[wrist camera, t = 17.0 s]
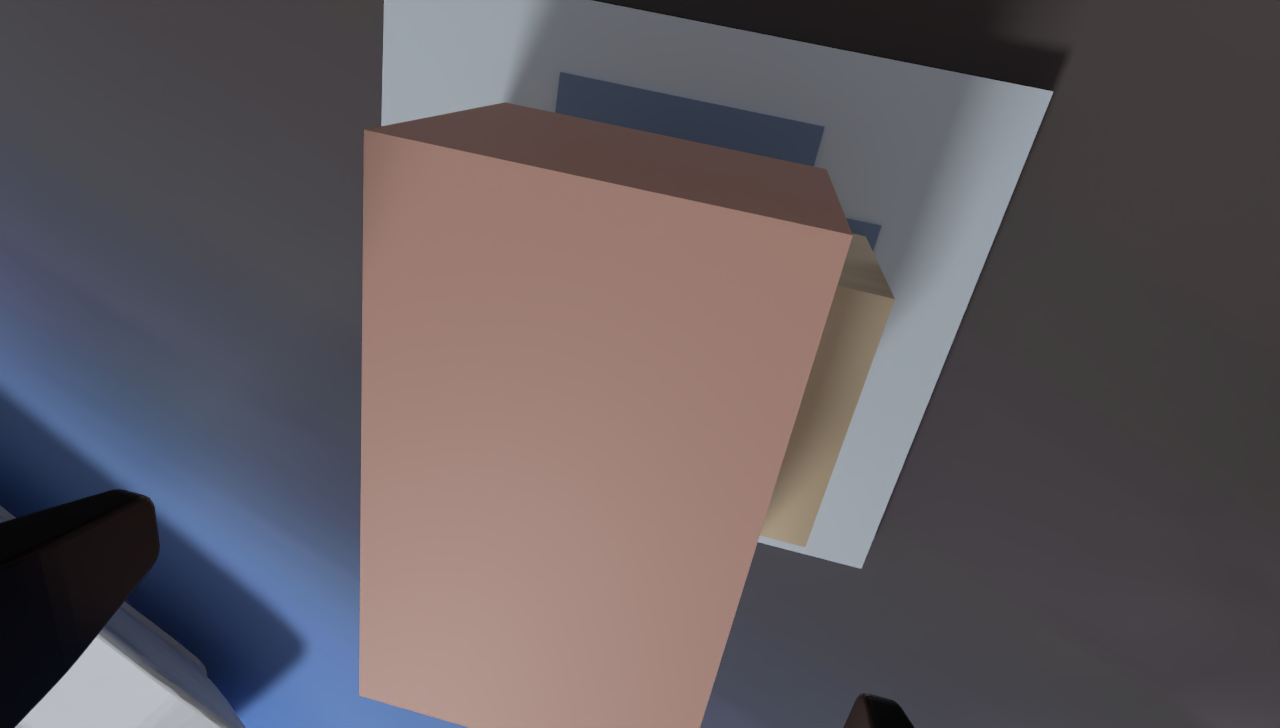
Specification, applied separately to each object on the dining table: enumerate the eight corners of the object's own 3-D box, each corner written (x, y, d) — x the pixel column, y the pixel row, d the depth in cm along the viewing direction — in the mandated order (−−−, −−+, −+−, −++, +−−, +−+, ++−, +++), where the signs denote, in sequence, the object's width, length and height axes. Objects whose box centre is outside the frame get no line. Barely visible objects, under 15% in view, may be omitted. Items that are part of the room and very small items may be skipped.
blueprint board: (1041, 89, 17) (1055, 92, 16) (858, 552, 23) (861, 570, 22) (400, -37, 18) (382, -42, 17) (386, 430, 24) (372, 444, 23)
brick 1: (504, 101, 13) (363, 129, 9) (826, 169, 13) (852, 235, 8) (467, 529, 17) (359, 695, 13) (706, 592, 17) (680, 788, 12)
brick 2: (865, 236, 18) (895, 299, 13) (799, 437, 20) (805, 547, 16) (487, 150, 19) (394, 182, 14) (468, 354, 21) (385, 436, 17)
